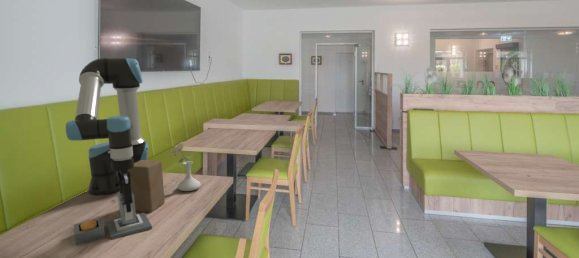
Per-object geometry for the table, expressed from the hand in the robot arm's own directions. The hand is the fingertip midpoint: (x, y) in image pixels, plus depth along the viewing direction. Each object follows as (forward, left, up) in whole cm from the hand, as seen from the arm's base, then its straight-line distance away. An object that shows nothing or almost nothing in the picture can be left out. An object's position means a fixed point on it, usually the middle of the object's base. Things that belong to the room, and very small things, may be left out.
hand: (127, 215), depth 128 cm
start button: (0, -13, -2) cm, 13 cm away
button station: (0, -13, -4) cm, 14 cm away
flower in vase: (-26, +31, -5) cm, 41 cm away
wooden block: (-15, +10, -5) cm, 19 cm away
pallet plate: (0, 0, -4) cm, 4 cm away
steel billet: (0, 0, -3) cm, 3 cm away
